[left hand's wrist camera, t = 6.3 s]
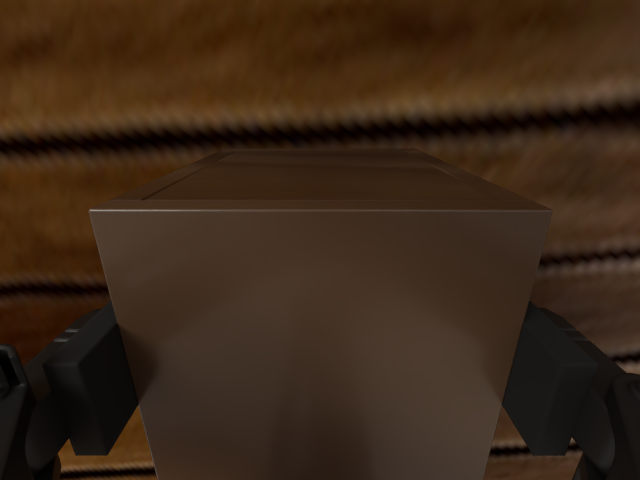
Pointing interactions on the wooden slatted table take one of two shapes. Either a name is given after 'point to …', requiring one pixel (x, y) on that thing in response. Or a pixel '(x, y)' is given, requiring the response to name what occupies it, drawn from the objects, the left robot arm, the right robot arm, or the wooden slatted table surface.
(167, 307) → the cabinet
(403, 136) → the wooden slatted table surface
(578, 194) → the wooden slatted table surface
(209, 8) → the wooden slatted table surface
